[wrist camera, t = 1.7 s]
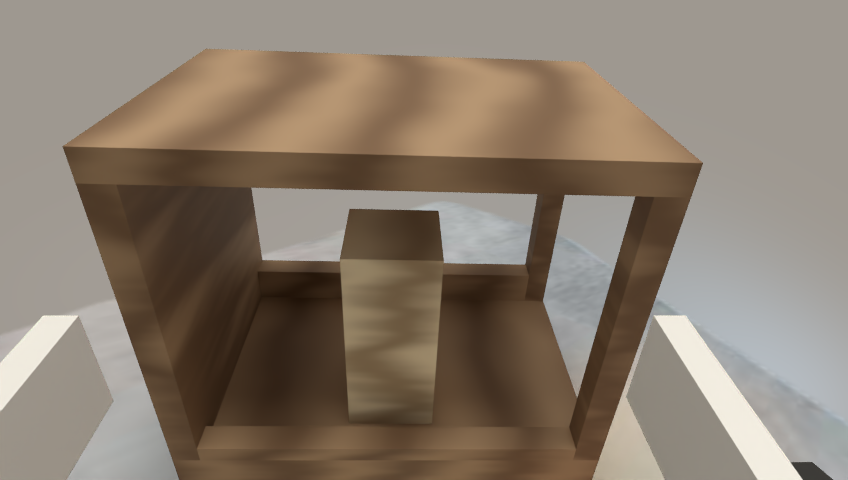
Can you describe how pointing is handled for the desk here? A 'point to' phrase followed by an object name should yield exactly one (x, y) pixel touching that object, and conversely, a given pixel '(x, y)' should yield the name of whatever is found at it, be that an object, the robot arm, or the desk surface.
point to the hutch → (321, 280)
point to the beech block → (391, 314)
